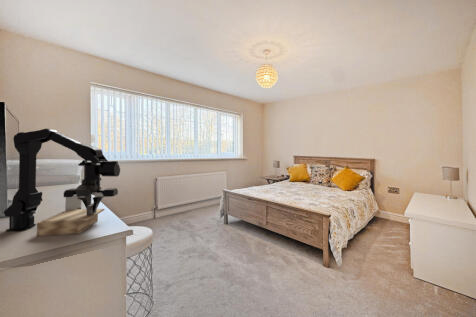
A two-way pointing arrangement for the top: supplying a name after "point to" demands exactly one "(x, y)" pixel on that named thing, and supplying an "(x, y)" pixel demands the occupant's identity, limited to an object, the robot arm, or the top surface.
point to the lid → (75, 215)
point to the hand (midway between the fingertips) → (91, 212)
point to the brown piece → (64, 227)
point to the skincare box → (73, 203)
